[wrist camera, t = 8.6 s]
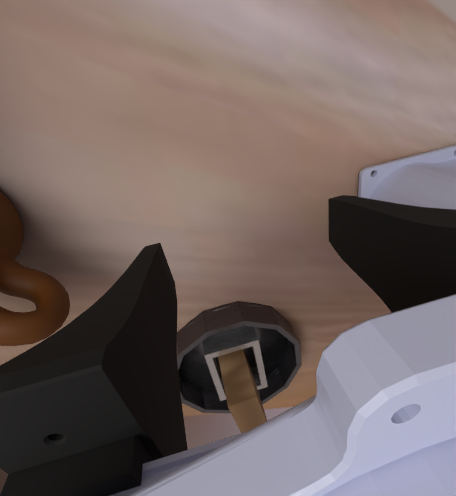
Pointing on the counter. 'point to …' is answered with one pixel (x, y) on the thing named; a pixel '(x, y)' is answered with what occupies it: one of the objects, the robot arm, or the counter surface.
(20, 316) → the mug
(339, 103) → the counter surface
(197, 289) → the counter surface
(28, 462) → the robot arm
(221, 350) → the bowl
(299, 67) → the counter surface
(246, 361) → the wooden block
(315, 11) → the counter surface
